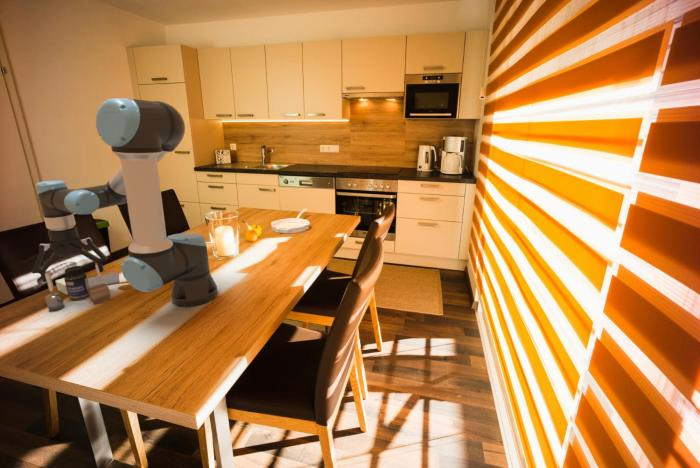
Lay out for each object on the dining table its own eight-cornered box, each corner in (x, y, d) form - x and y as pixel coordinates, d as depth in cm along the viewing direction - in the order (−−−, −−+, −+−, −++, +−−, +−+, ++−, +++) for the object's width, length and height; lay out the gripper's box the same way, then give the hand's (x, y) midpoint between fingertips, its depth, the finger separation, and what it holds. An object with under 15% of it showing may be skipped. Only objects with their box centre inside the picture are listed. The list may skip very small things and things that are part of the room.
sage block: (80, 291, 124) (77, 281, 123) (67, 295, 121) (64, 285, 120) (70, 286, 128) (68, 276, 127) (58, 290, 125) (55, 280, 124)
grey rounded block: (63, 309, 111) (59, 296, 110) (48, 313, 109) (43, 299, 108) (65, 304, 114) (61, 291, 113) (50, 308, 112) (45, 294, 111)
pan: (262, 233, 192) (261, 224, 190) (289, 215, 232) (289, 207, 230) (303, 236, 187) (302, 226, 186) (323, 217, 228) (323, 209, 226)
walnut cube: (111, 299, 118) (108, 287, 116) (94, 305, 114) (90, 292, 112) (107, 295, 121) (104, 283, 119) (90, 300, 117) (86, 287, 116)
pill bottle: (67, 302, 116) (59, 273, 112) (72, 295, 121) (64, 267, 118) (89, 298, 118) (82, 269, 115) (93, 291, 124) (85, 263, 120)
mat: (119, 283, 130) (118, 281, 130) (83, 290, 124) (83, 289, 124) (118, 273, 139) (118, 272, 139) (85, 280, 133) (85, 278, 133)
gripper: (107, 219, 122) (118, 273, 128) (13, 230, 108) (31, 289, 115) (107, 224, 116) (119, 280, 122) (7, 236, 102) (27, 298, 109)
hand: (76, 285), depth 118 cm, fingers open, 13 cm apart
